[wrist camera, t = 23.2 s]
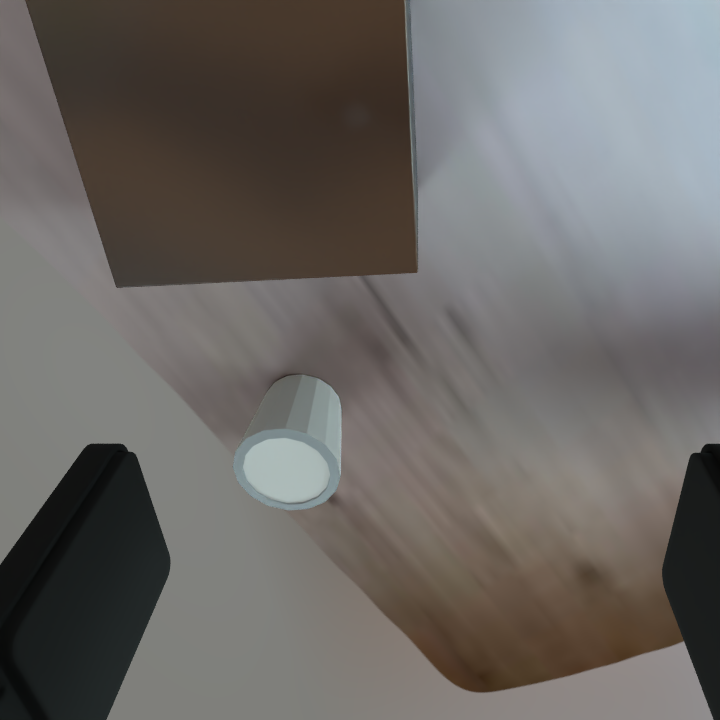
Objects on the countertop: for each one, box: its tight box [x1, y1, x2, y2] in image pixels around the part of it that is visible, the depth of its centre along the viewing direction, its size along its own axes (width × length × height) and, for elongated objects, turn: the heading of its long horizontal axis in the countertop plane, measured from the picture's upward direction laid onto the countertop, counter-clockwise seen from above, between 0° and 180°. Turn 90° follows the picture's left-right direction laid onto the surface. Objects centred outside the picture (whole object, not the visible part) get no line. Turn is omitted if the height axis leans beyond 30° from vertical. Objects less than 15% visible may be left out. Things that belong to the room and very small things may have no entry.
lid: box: [25, 0, 418, 288], centre depth 23 cm, size 16×14×5 cm
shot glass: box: [233, 374, 342, 510], centre depth 43 cm, size 7×7×7 cm
